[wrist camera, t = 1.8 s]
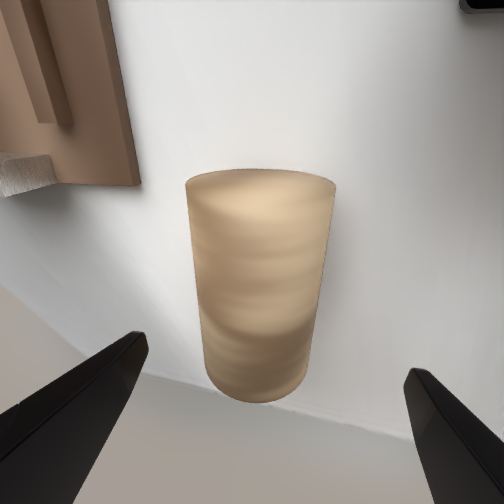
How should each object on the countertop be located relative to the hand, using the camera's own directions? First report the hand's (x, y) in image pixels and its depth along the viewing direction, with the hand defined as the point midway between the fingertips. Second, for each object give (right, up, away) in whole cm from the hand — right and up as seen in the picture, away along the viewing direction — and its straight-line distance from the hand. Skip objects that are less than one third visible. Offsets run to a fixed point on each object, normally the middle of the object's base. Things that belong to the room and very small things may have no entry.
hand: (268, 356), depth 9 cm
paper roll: (+1, +3, +7) cm, 7 cm away
